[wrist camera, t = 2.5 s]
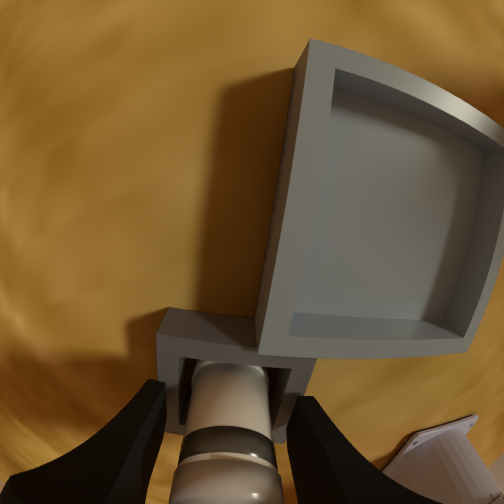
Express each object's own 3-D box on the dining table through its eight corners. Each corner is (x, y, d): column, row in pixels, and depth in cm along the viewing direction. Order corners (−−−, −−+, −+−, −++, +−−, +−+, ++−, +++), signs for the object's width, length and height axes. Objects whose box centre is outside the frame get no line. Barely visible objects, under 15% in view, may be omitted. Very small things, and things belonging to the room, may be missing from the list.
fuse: (260, 397, 12) (272, 528, 6) (193, 390, 12) (172, 521, 5) (273, 345, 11) (299, 496, 5) (196, 336, 11) (163, 487, 4)
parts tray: (439, 326, 12) (466, 352, 9) (254, 316, 11) (257, 354, 9) (483, 140, 9) (519, 140, 7) (294, 66, 8) (310, 38, 6)
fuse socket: (280, 414, 13) (284, 443, 11) (169, 402, 12) (161, 431, 10) (307, 323, 11) (318, 352, 9) (168, 307, 11) (156, 333, 9)
